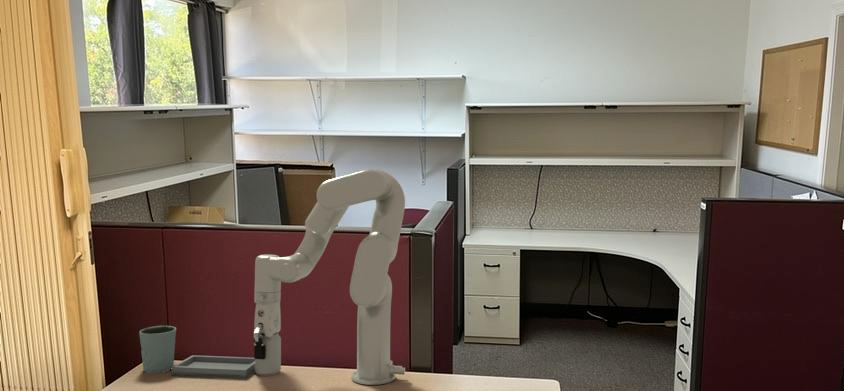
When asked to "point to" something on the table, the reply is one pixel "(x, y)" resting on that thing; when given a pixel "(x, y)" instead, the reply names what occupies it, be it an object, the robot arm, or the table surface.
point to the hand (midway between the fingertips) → (266, 354)
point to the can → (270, 357)
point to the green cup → (157, 348)
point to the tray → (215, 367)
